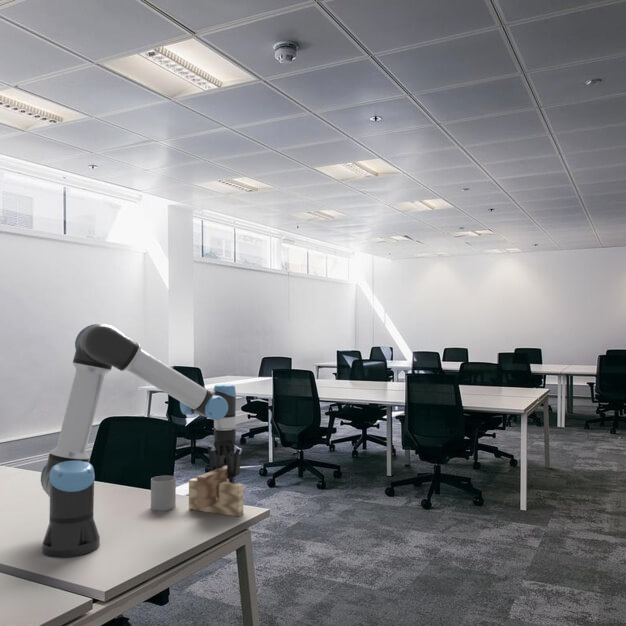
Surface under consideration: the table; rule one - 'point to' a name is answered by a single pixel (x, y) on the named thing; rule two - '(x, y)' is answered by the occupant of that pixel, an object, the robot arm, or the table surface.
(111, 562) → the table surface
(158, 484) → the cup
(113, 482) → the table surface
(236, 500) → the notched wooden slab
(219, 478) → the walnut plate
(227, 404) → the robot arm
